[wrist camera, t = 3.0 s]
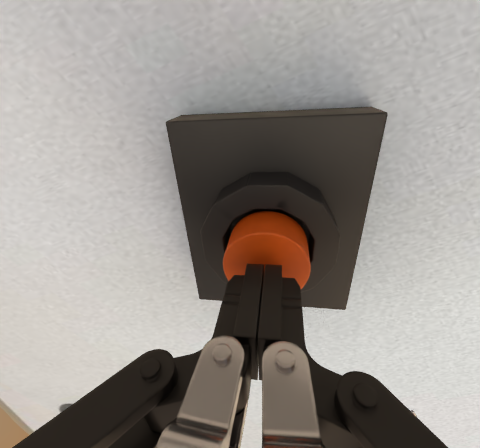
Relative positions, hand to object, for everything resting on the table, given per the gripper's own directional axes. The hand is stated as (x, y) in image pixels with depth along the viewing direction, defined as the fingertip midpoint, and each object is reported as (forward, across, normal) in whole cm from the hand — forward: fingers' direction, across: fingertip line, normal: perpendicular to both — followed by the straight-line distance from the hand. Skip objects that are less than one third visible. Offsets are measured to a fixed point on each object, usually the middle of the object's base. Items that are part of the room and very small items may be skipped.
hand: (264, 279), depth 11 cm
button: (+3, 0, 0) cm, 3 cm away
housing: (+6, 0, 0) cm, 6 cm away
